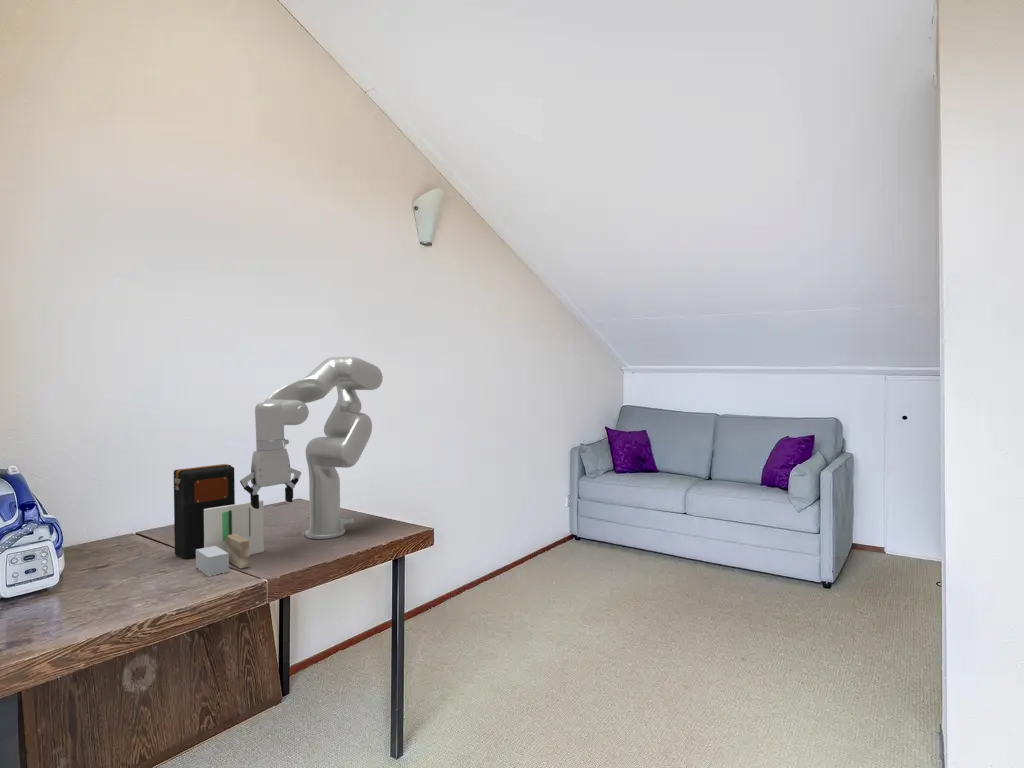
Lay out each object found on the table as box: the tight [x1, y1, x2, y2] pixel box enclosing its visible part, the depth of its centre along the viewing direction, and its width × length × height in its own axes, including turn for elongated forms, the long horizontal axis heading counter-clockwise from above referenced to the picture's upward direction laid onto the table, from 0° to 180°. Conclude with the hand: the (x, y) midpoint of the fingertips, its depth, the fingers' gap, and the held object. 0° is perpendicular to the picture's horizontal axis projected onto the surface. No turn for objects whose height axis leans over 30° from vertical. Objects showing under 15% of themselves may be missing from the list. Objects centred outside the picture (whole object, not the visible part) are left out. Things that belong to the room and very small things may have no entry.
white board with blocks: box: [195, 500, 265, 577], centre depth 166 cm, size 19×13×15 cm
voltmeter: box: [173, 463, 236, 559], centre depth 177 cm, size 16×9×25 cm, turn 141°
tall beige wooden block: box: [226, 510, 250, 569], centre depth 165 cm, size 2×11×14 cm, turn 44°
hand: (272, 504), depth 173 cm, fingers open, 9 cm apart
